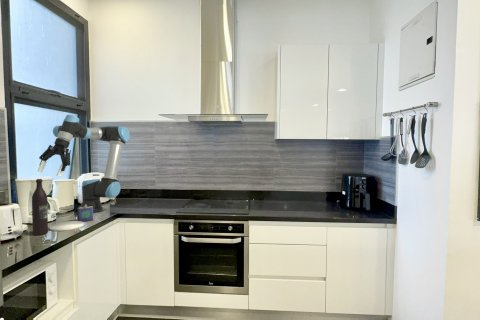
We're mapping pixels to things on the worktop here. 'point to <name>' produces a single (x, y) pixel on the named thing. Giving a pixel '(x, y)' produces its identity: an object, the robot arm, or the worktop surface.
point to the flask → (85, 213)
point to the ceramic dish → (66, 226)
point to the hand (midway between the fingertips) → (49, 174)
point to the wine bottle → (39, 210)
